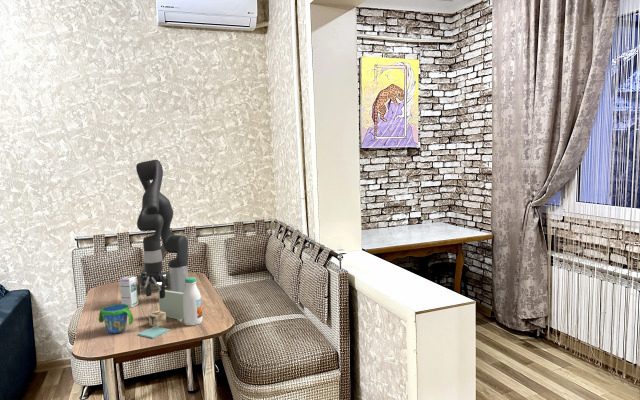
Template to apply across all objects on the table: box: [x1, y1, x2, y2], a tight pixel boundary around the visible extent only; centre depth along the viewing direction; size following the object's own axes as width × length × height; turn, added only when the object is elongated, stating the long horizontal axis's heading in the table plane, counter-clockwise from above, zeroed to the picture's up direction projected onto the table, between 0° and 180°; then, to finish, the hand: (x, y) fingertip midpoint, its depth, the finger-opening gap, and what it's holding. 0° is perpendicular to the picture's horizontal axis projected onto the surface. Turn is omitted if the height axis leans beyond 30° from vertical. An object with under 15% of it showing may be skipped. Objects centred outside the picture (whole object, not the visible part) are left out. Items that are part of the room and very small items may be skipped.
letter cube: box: [148, 310, 167, 327], centre depth 197 cm, size 5×5×5 cm
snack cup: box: [98, 303, 134, 334], centre depth 191 cm, size 16×11×10 cm
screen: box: [158, 290, 184, 322], centre depth 205 cm, size 5×16×12 cm, turn 61°
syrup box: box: [119, 275, 140, 309], centre depth 225 cm, size 6×6×14 cm
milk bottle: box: [183, 276, 203, 327], centre depth 196 cm, size 8×8×20 cm
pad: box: [137, 326, 171, 339], centre depth 187 cm, size 9×9×1 cm
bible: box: [136, 244, 171, 296], centre depth 258 cm, size 23×20×25 cm
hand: (155, 297), depth 196 cm, fingers open, 8 cm apart
